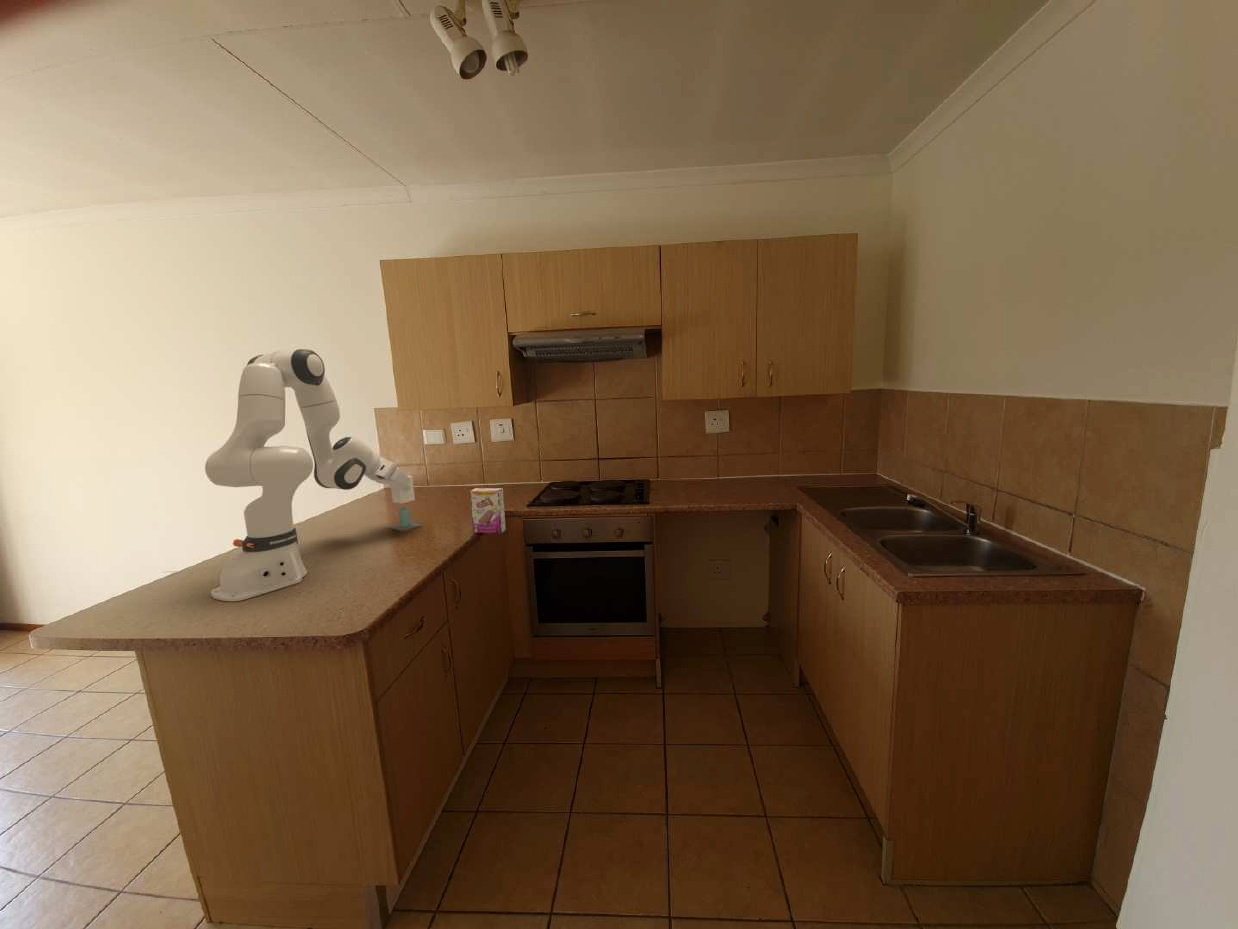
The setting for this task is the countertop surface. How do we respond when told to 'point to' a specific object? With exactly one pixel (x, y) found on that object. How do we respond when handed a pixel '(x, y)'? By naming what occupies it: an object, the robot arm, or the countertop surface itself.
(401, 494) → the white tissue box
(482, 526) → the candy bar box
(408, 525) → the post
